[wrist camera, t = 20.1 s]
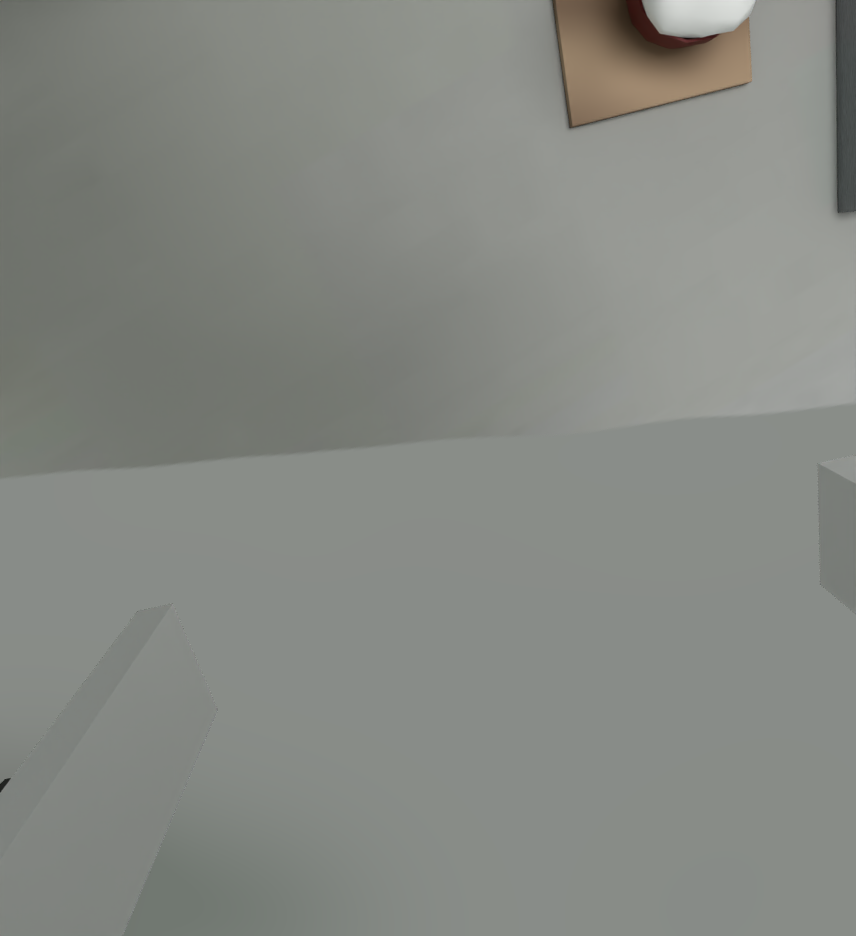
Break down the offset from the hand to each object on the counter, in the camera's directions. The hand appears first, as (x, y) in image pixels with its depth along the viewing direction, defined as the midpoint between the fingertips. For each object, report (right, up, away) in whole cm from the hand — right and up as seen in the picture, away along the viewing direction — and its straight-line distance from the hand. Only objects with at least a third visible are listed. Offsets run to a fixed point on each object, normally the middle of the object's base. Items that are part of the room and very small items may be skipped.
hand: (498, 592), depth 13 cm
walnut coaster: (+10, +28, +21) cm, 36 cm away
